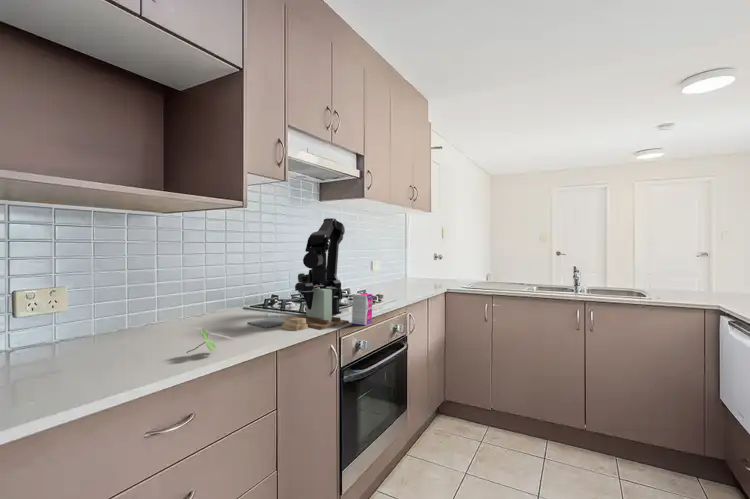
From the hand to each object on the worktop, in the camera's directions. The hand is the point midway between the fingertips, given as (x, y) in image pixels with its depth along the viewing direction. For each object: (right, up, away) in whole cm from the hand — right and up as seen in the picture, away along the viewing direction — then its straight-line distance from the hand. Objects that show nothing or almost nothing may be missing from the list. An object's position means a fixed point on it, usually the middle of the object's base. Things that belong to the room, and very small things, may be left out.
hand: (319, 308), depth 146 cm
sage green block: (0, -5, 0) cm, 5 cm away
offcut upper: (-7, -4, -9) cm, 12 cm away
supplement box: (+16, -6, -2) cm, 18 cm away
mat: (-18, -6, 0) cm, 19 cm away
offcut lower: (-7, -6, -9) cm, 13 cm away
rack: (0, -6, 0) cm, 6 cm away
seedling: (-30, -6, -42) cm, 52 cm away
